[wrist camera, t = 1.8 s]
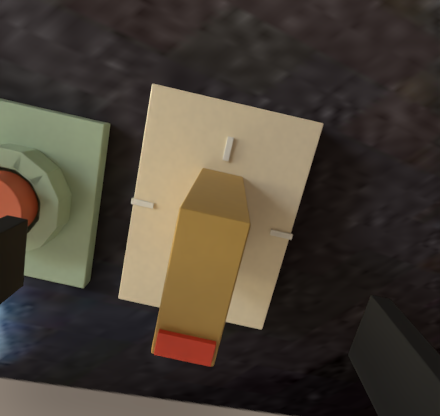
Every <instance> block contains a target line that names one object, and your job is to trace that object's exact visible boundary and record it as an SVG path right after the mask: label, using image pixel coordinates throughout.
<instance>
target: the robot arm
mask: <svg viewBox="0 0 440 416" xmlns="http://www.w3.org/2000/svg"><path fill="white" fill-rule="evenodd" d="M27 227H28V219H23V218H18V217H14V216H9V215H6V216H4V217H2V218H0V304H1V303H2V302H3V301H5V300H6V299H7V298H8V297H10V296H11V295H12V294H13V293H15V292H16V291H17V290H18V289H19V288H21V287H22V286H23V281H24V267H25V254H26V241H27ZM348 356H349V358H350V360H351V362H352V364H353V366H354V368H355V370H356V372H357V374H358V376H359V378H360V380H361V382H362V384H363V386H364V388H365V390H366V392H367V394H368V396H369V398H370V400H371V402H372V404H373V406H374V408H375V410H376V412H377V414H378V416H440V355H439V353H438V352H437V351H436V350H435V349H434V348H433V347H432V346H431V344H430V343H429V342H428V341H427V340H426V339H425V338H424V336H423V335H422V334H421V333H420V332H419V331H418V330H417V329H416V327H415V326H414V325H413V324H412V323H411V322H410V321H409V320H408V318H407V317H406V316H405V315H404V314H403V313H402V312H401V310H400V309H399V308H398V307H397V306H396V305H395V304H394V303H393V301H392V300H391V299H388V298H383V297H379V296H374V295H371V296H370V299H369V301H368V304H367V307H366V309H365V312H364V314H363V317H362V320H361V322H360V325H359V327H358V330H357V333H356V335H355V338H354V340H353V343H352V346H351V348H350V351H349V353H348Z"/></svg>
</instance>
